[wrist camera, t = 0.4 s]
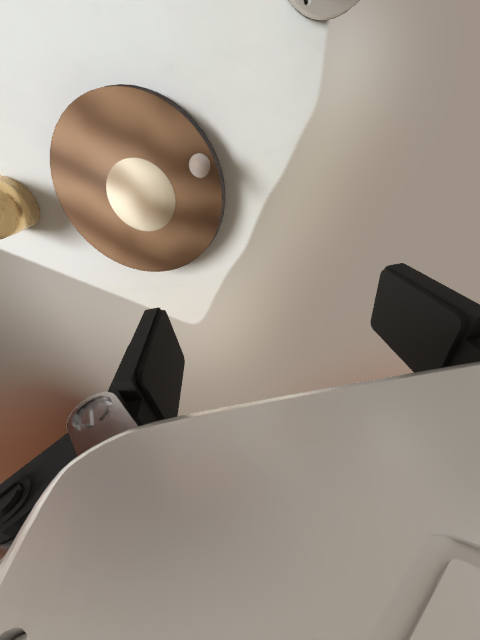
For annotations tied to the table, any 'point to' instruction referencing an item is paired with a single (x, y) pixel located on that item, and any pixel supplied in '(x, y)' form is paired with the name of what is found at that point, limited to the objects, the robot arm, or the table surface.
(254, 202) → the table surface
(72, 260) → the table surface
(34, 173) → the table surface
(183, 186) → the turntable
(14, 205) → the cover
